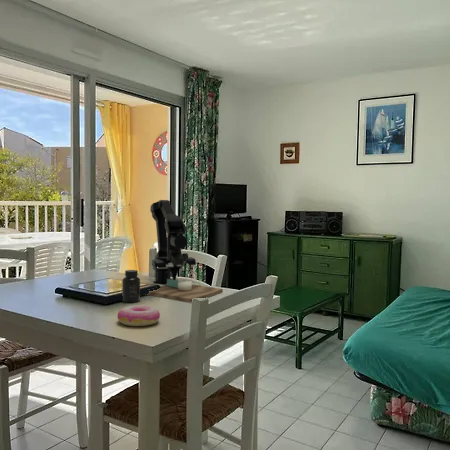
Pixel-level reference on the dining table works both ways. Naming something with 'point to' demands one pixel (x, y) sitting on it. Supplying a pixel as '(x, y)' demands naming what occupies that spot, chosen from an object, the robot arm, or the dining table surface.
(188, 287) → the green and white block
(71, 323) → the dining table surface
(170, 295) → the walnut base
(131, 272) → the supplement bottle
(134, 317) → the donut
